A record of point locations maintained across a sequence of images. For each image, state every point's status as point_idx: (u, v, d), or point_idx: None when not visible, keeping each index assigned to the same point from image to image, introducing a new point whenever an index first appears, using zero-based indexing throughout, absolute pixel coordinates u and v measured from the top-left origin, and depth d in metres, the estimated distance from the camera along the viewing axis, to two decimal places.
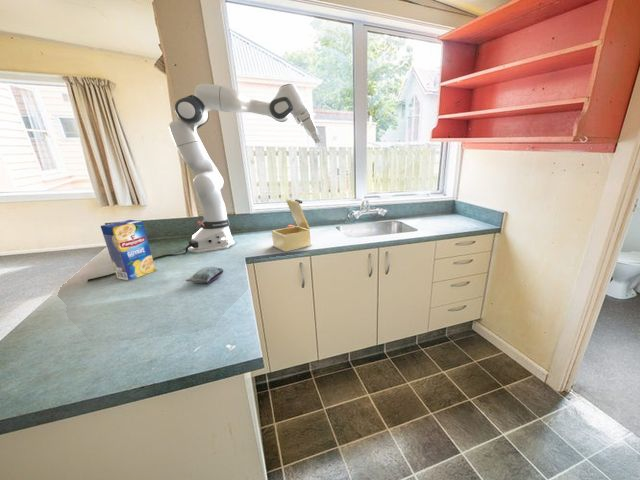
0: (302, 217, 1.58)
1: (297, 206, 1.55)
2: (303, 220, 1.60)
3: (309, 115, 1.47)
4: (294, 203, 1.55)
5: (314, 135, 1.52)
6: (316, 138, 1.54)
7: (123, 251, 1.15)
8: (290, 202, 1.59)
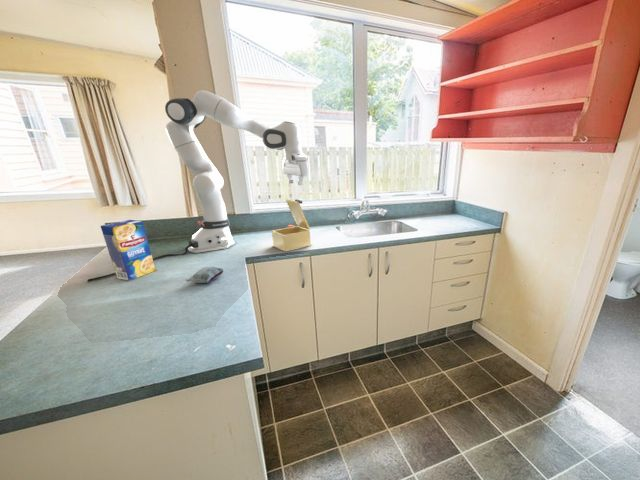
0: (302, 217, 1.58)
1: (297, 206, 1.55)
2: (303, 220, 1.60)
3: (306, 159, 1.47)
4: (294, 203, 1.55)
5: (301, 177, 1.50)
6: (300, 181, 1.51)
7: (123, 251, 1.15)
8: (290, 202, 1.59)
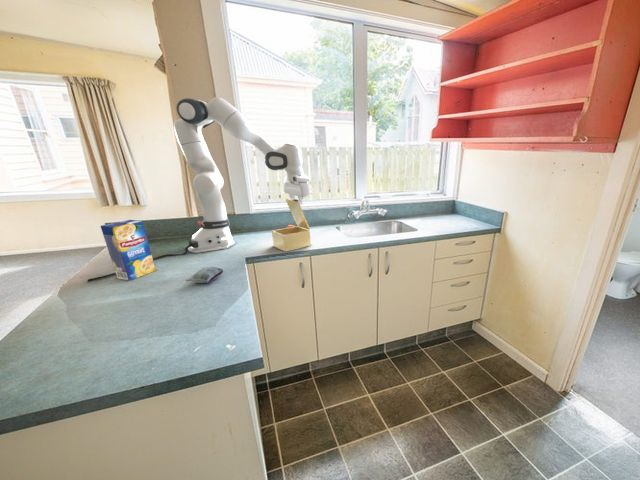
0: (302, 217, 1.58)
1: (297, 206, 1.55)
2: (303, 220, 1.60)
3: (307, 180, 1.51)
4: (294, 203, 1.55)
5: (300, 197, 1.54)
6: (300, 200, 1.56)
7: (123, 251, 1.15)
8: (290, 203, 1.59)
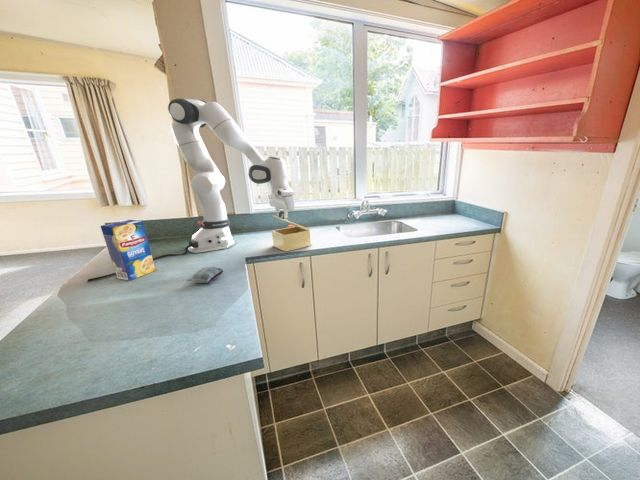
0: (296, 225, 1.57)
1: None
2: (299, 226, 1.59)
3: (292, 194, 1.47)
4: (281, 219, 1.52)
5: (286, 211, 1.50)
6: (286, 214, 1.52)
7: (123, 251, 1.15)
8: None
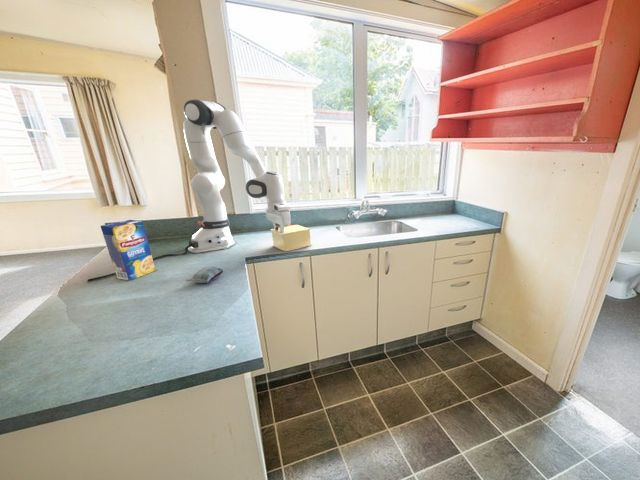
0: None
1: None
2: None
3: (289, 208, 1.47)
4: None
5: (282, 225, 1.51)
6: (282, 228, 1.52)
7: (123, 251, 1.15)
8: None
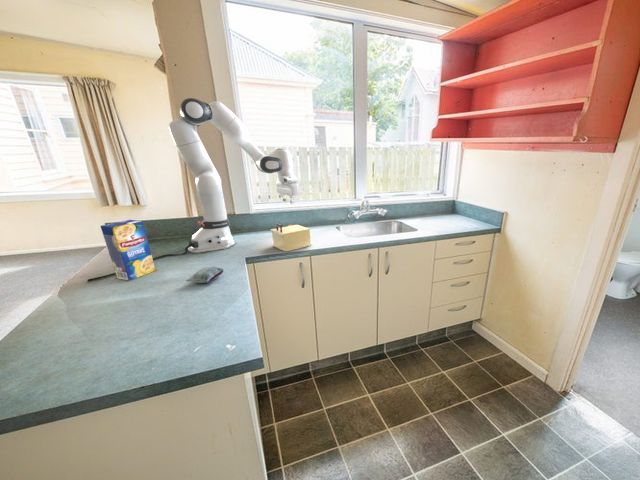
0: None
1: None
2: None
3: (297, 181, 1.67)
4: None
5: (292, 197, 1.70)
6: (292, 200, 1.72)
7: (123, 251, 1.15)
8: None
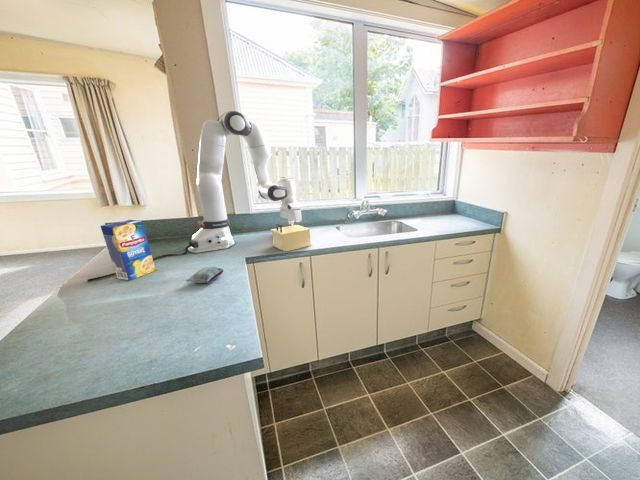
0: None
1: None
2: None
3: (300, 207, 1.76)
4: None
5: (292, 221, 1.81)
6: (292, 223, 1.83)
7: (123, 251, 1.15)
8: None
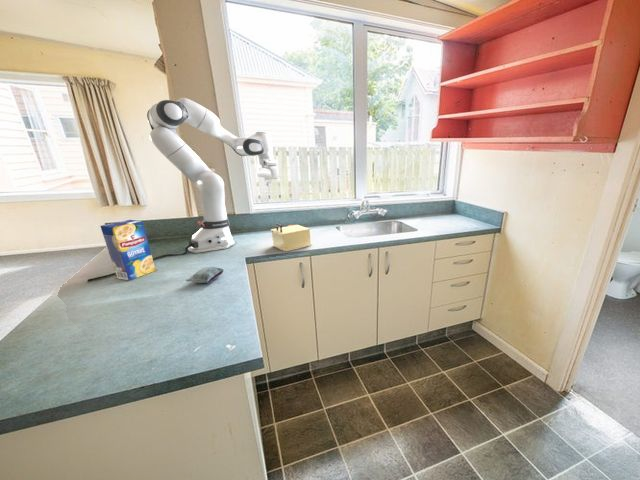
0: None
1: None
2: None
3: (276, 164, 1.71)
4: None
5: (269, 179, 1.77)
6: (269, 182, 1.78)
7: (123, 251, 1.15)
8: None
